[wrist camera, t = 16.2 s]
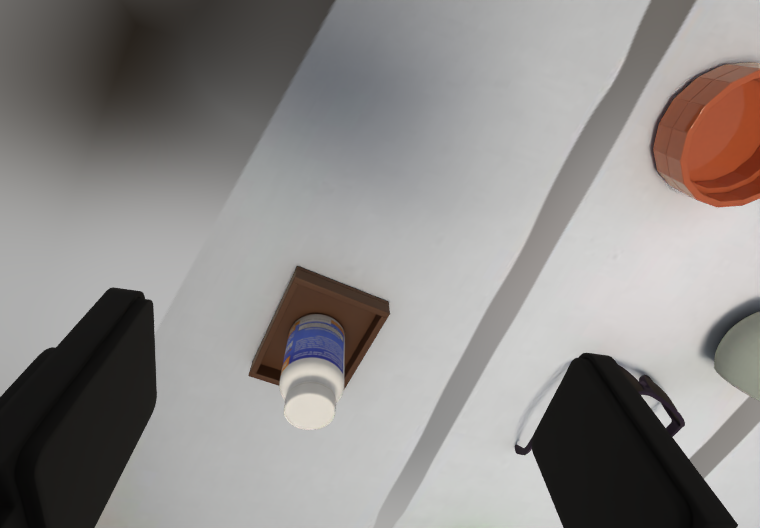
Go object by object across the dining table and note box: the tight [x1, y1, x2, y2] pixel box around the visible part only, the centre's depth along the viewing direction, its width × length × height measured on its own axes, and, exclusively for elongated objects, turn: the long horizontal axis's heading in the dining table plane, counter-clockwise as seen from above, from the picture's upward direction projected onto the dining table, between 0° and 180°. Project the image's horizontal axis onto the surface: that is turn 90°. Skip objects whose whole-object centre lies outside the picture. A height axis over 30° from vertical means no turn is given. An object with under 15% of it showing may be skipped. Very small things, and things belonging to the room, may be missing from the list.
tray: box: [249, 266, 390, 389], centre depth 43 cm, size 12×9×2 cm
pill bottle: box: [279, 314, 345, 430], centre depth 39 cm, size 5×5×10 cm
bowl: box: [653, 62, 760, 207], centre depth 35 cm, size 10×10×4 cm
